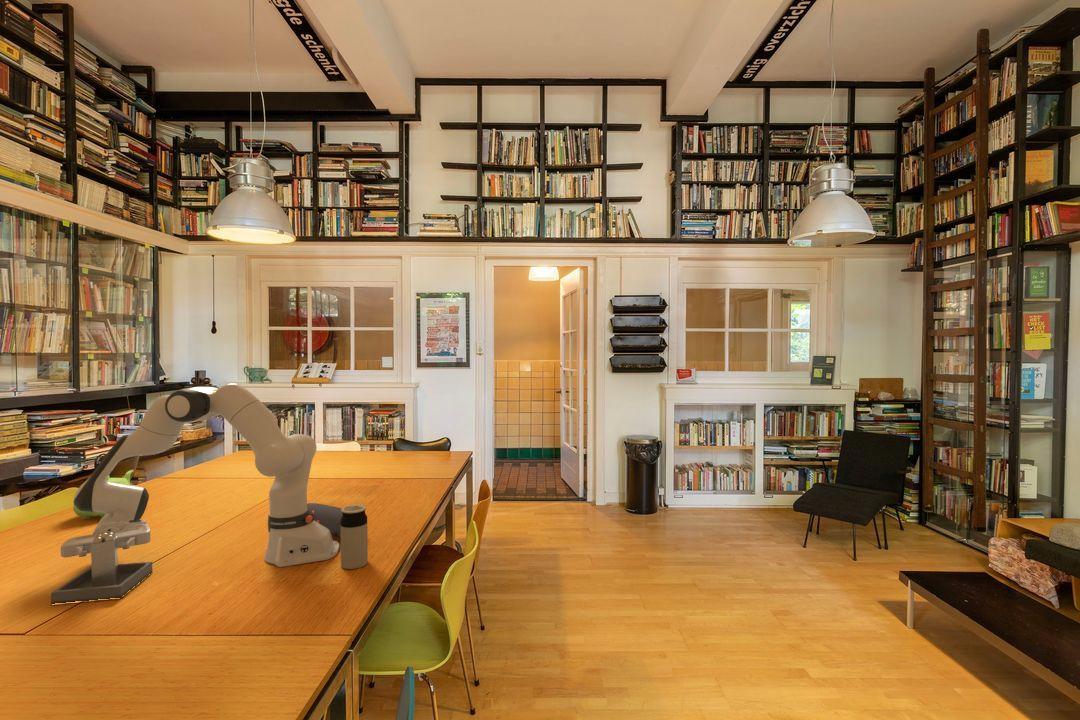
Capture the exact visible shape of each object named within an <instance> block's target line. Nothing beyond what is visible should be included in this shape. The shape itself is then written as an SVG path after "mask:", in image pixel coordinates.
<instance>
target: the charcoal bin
mask: <svg viewBox="0 0 1080 720" xmlns="http://www.w3.org/2000/svg"><path fill="white" fill-rule="evenodd" d="M153 569H154V568H153V561H143V562H132V563H131V562H130V563H129V562H128V563H120V564H119V563H118V580H117V583H116V585H114V586H102V587H92V566H89V567H88V568H86V569H84V570H83V571H82V572H80V573H79V574H77V575H76V576H74V577H72V578H71V579H69V580H68V581H67V582H65V583H63V584H61V585H60V586H59V587H57V588H56V589H55V590H53V591H51V592H50V605H51V604H55V603H66V602H75V601H89V600H98V599H110V598H121V597H122V596H123V595H125V594H126V593H127V592H128V591H129V590H131V589H132V588H133V587H134V586H136V585H137V584H138V583H139V582H141V581H142V580H143V579H144V578H145V577H147V576H148V575H149V574H151V573H152V572H153ZM153 573H154V572H153ZM153 573H152V574H153ZM152 574H151V575H152ZM149 576H150V575H149ZM149 576H148V577H149ZM148 577H147V578H148ZM143 581H144V580H143ZM143 581H142V582H143ZM142 582H141V583H142ZM137 586H138V585H137ZM137 586H136V587H137ZM131 591H132V590H131ZM125 596H126V595H125Z"/></svg>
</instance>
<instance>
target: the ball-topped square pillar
mask: <svg viewBox="0 0 1080 720" xmlns="http://www.w3.org/2000/svg"><path fill="white" fill-rule="evenodd" d="M90 557H91V562H90V563H91V567H92V587H102V586H114V585H116V583H117V580H118V564H119V563H118V549H117V535H115V534H114V533H108V534H107V533H103V534H99V535H97V536H95V538H94V540H93V542H92V543H91V553H90Z"/></svg>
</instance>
